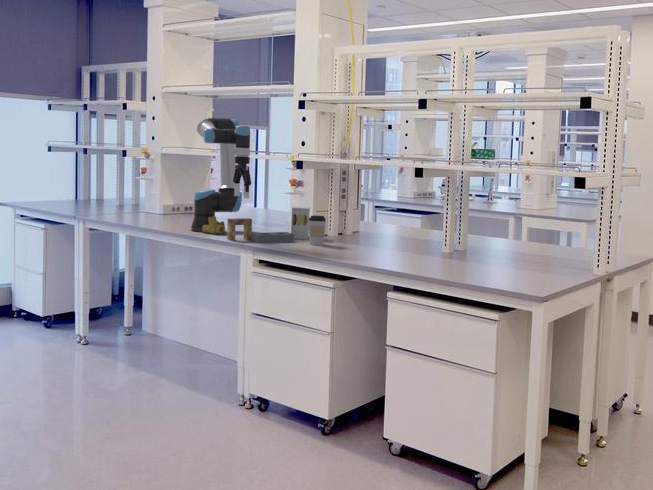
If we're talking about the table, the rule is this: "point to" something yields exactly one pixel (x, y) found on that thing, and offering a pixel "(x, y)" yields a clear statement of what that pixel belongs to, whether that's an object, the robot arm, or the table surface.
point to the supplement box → (300, 222)
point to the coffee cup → (316, 230)
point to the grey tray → (272, 237)
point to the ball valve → (214, 226)
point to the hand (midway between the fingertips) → (241, 197)
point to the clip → (242, 221)
